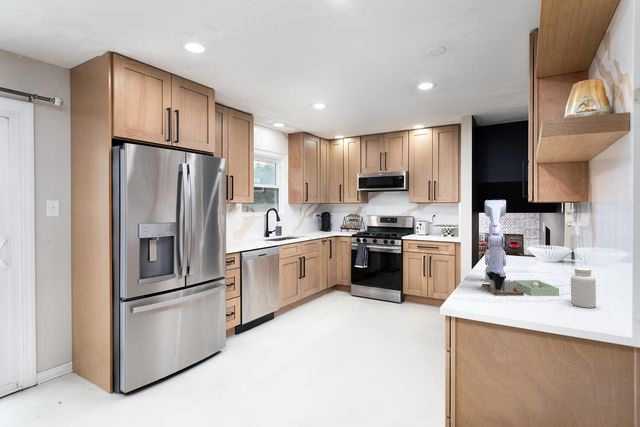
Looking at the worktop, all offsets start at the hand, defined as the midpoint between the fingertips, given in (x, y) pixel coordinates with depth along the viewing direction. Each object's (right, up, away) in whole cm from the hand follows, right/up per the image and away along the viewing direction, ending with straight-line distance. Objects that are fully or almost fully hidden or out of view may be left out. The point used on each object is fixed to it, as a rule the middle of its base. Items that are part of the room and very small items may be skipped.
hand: (496, 288), depth 156 cm
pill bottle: (+24, -2, -22) cm, 32 cm away
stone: (+5, -1, 0) cm, 5 cm away
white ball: (+21, -1, +4) cm, 22 cm away
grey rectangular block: (0, -1, 0) cm, 1 cm away
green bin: (+17, -1, -1) cm, 18 cm away
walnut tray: (+3, -2, 0) cm, 3 cm away
